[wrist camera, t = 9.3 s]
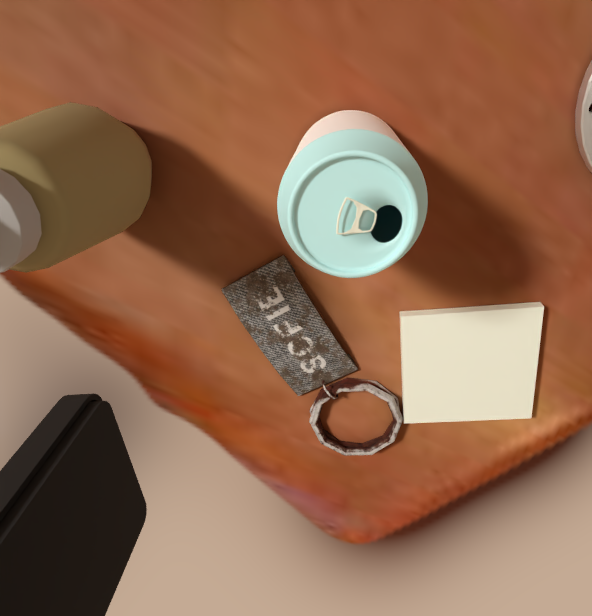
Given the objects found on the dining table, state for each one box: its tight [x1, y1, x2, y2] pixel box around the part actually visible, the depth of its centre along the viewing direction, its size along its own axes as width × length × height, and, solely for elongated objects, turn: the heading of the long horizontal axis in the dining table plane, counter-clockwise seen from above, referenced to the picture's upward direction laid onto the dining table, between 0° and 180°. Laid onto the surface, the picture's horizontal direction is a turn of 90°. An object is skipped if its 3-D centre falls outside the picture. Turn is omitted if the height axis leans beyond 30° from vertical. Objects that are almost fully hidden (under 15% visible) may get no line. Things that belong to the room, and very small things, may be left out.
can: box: [277, 110, 428, 278], centre depth 27 cm, size 7×7×12 cm
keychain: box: [222, 255, 403, 455], centre depth 39 cm, size 8×19×2 cm, turn 31°
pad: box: [400, 302, 544, 423], centre depth 38 cm, size 10×10×1 cm
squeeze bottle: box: [0, 102, 152, 273], centre depth 25 cm, size 8×8×18 cm
